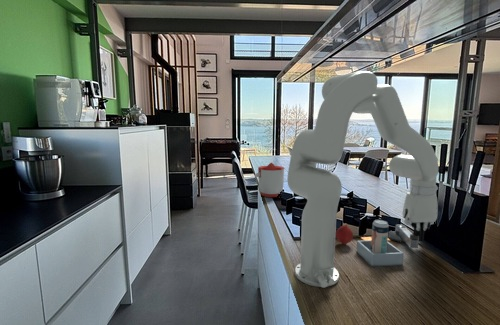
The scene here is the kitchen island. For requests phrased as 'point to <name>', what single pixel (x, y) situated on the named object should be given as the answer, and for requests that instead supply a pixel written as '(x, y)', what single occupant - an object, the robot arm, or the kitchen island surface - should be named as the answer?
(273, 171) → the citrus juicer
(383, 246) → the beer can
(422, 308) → the kitchen island surface
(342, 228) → the onion
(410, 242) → the crank arm
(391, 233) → the crank base
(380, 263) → the tray
